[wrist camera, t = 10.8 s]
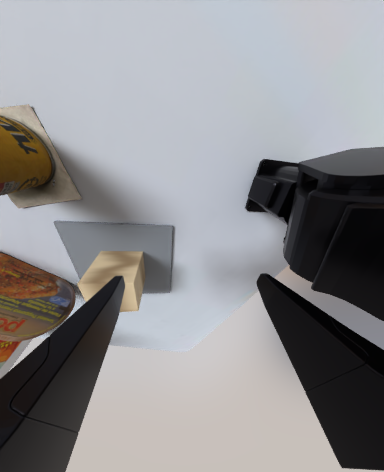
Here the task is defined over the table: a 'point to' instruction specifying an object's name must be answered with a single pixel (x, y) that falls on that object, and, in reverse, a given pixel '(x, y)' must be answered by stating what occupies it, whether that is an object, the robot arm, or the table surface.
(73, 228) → the slate mat
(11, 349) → the milk bottle
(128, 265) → the oak cube
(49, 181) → the condiment
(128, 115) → the table surface
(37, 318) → the tin
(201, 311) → the table surface
